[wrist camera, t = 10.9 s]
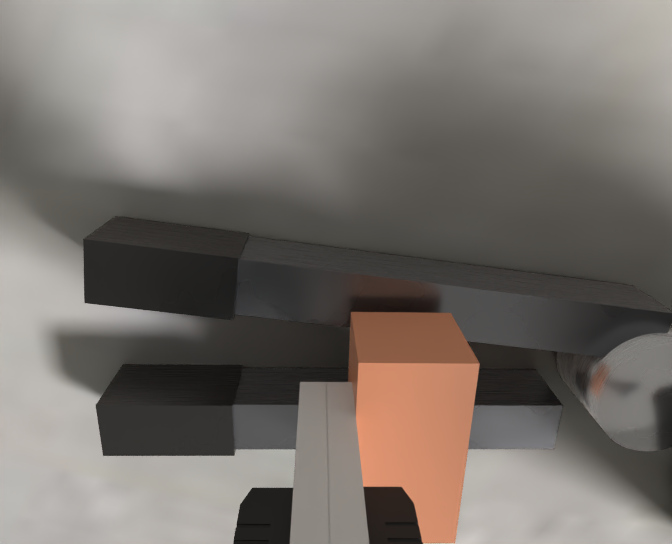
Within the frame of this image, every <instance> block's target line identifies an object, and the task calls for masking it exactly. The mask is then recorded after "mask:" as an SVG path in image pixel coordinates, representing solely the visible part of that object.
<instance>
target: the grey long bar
mask: <svg viewBox="0 0 672 544" xmlns="http://www.w3.org/2000/svg"><path fill="white" fill-rule="evenodd" d="M83 240H84V299H85V303H90V304H99V305H107V306H116V307H125V308H133V309H142V310H151V311H160V312H168V313H177V314H186V315H194V316H203V317H212V318H220V319H229V320H233V319H234V316H235V314H237V315H245V316H254V317H263V318H271V319H280V320H288V321H297V322H306V323H314V324H323V325H332V326H340V327H349V328H350V321H351V312H417V313H451V314H452V316H453V318H454V319H455V321H456V323H457V325H458V326H459V328H460V330H461V332H462V333H463V335H464V337H465V339H466V340H467V341H470V342H478V343H487V344H496V345H504V346H513V347H522V348H530V349H539V350H547V351H556V352H557V368H558V371H559V374H560V376H561V378H562V380H563V381H564V382H565V383H566V385H567V386H568V387H569V388H570V389H571V391H572V392H573V393H574V394H575V396H576V397H577V398H578V399H579V401H580V402H581V403H582V404H583V406H584V407H585V408H586V409H587V410H588V412H589V413H590V414H591V415H592V417H593V418H594V419H595V420H596V422H597V423H598V424H599V425H600V426H601V428H602V429H603V430H604V431H605V433H606V434H607V435H608V436H609V437H610V438H611V439H612V440H613V441H614V442H616V443H617V444H619V445H621V446H623V447H625V448H628V449H631V450H636V451H657V450H663V449H667V448H670V447H672V328H670V326H671V323H672V311H671V310H669V309H668V308H666V307H665V306H663V305H662V304H660V303H659V302H657V301H656V300H654V299H653V298H651V297H650V296H648V295H647V294H645V293H644V292H642V291H641V290H639V289H637V288H636V287H634V286H632V285H624V284H617V283H609V282H601V281H593V280H585V279H578V278H570V277H562V276H554V275H546V274H539V273H531V272H523V271H515V270H507V269H500V268H492V267H484V266H476V265H468V264H461V263H453V262H445V261H437V260H430V259H422V258H414V257H406V256H398V255H391V254H383V253H375V252H367V251H359V250H352V249H344V248H336V247H328V246H320V245H313V244H305V243H297V242H289V241H281V240H274V239H266V238H258V237H250V236H249V233H241V232H234V231H226V230H218V229H210V228H203V227H195V226H187V225H179V224H171V223H164V222H156V221H148V220H140V219H133V218H125V217H117V216H115V217H114V218H112V219H111V220H110V221H108V222H107V223H105V224H104V225H103V226H101V227H100V228H98V229H97V230H96V231H94V232H93V233H91V234H90V235H88V236H87V237H86V238H84V239H83Z"/></svg>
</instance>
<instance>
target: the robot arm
mask: <svg viewBox="0 0 672 544" xmlns="http://www.w3.org/2000/svg"><path fill="white" fill-rule="evenodd" d="M234 544H423V542H422V538H421V533H420V529H419V526H418V519H417V515H416V510H415V506H414V503H413V501H412V500H411V499H410V497H409V496H408V495H407V493H406V492H405V491H404V489H403V488H402V487H363V479H362V470H361V460H360V451H359V442H358V432H357V423H356V413H355V404H354V395H353V387H352V382H300V392H299V407H298V423H297V439H296V454H295V470H294V485H293V488H252V489H251V490H250V492H249V493H248V495H247V496H246V497H245V499H244V500H243V502H242V503H241V504H240V509H239V515H238V520H237V528H236V531H235V536H234Z"/></svg>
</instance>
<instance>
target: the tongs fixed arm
mask: <svg viewBox="0 0 672 544" xmlns="http://www.w3.org/2000/svg"><path fill="white" fill-rule="evenodd" d="M348 370H349V368H242V365H122V367H121V368H120V370H119V371H118V373H117V374H116V376H115V377H114V379H113V380H112V382H111V383H110V385H109V386H108V388H107V389H106V391H105V392H104V394H103V395H102V397H101V398H100V400H99V401H98V403H97V404H96V410H97V417H98V424H99V430H100V437H101V444H102V450H103V456H234V455H235V450H236V449H296V439H297V423H298V407H299V392H300V382H348ZM562 408H563V405H562V404H561V402H560V401H559V400H558V398H557V397H556V396H555V394H554V393H553V392H552V390H551V389H550V388H549V386H548V385H547V384H546V382H545V381H544V380H543V378H542V377H541V376H540V374H539V373H538V372H537V370H536V369H479V373H478V380H477V387H476V395H475V402H474V409H473V416H472V424H471V431H470V438H469V445H468V449H554V447H555V442H556V437H557V432H558V427H559V422H560V418H561V413H562Z"/></svg>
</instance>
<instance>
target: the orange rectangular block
mask: <svg viewBox="0 0 672 544" xmlns="http://www.w3.org/2000/svg"><path fill="white" fill-rule="evenodd" d="M479 366H480V363H479V362H478V360H477V358H476V356H475V354H474V353H473V351H472V349H471V347H470V346H469V344H468V342H467V340H466V339H465V337H464V335H463V333H462V332H461V330H460V328H459V326H458V325H457V323H456V321H455V319H454V318H453V316H452V314H451V313H417V312H351V321H350V346H349V370H348V382H352V387H353V395H354V404H355V413H356V423H357V432H358V442H359V451H360V460H361V470H362V479H363V487H402V488H403V489H404V491H405V492H406V493H407V495H408V496H409V497H410V499H411V500H412V501H413V503H414V506H415V510H416V515H417V519H418V526H419V529H420V533H421V538H422V542H423V543H455V539H456V532H457V525H458V518H459V510H460V503H461V496H462V489H463V481H464V474H465V467H466V460H467V452H468V445H469V438H470V431H471V424H472V416H473V409H474V402H475V395H476V387H477V380H478V373H479Z"/></svg>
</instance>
